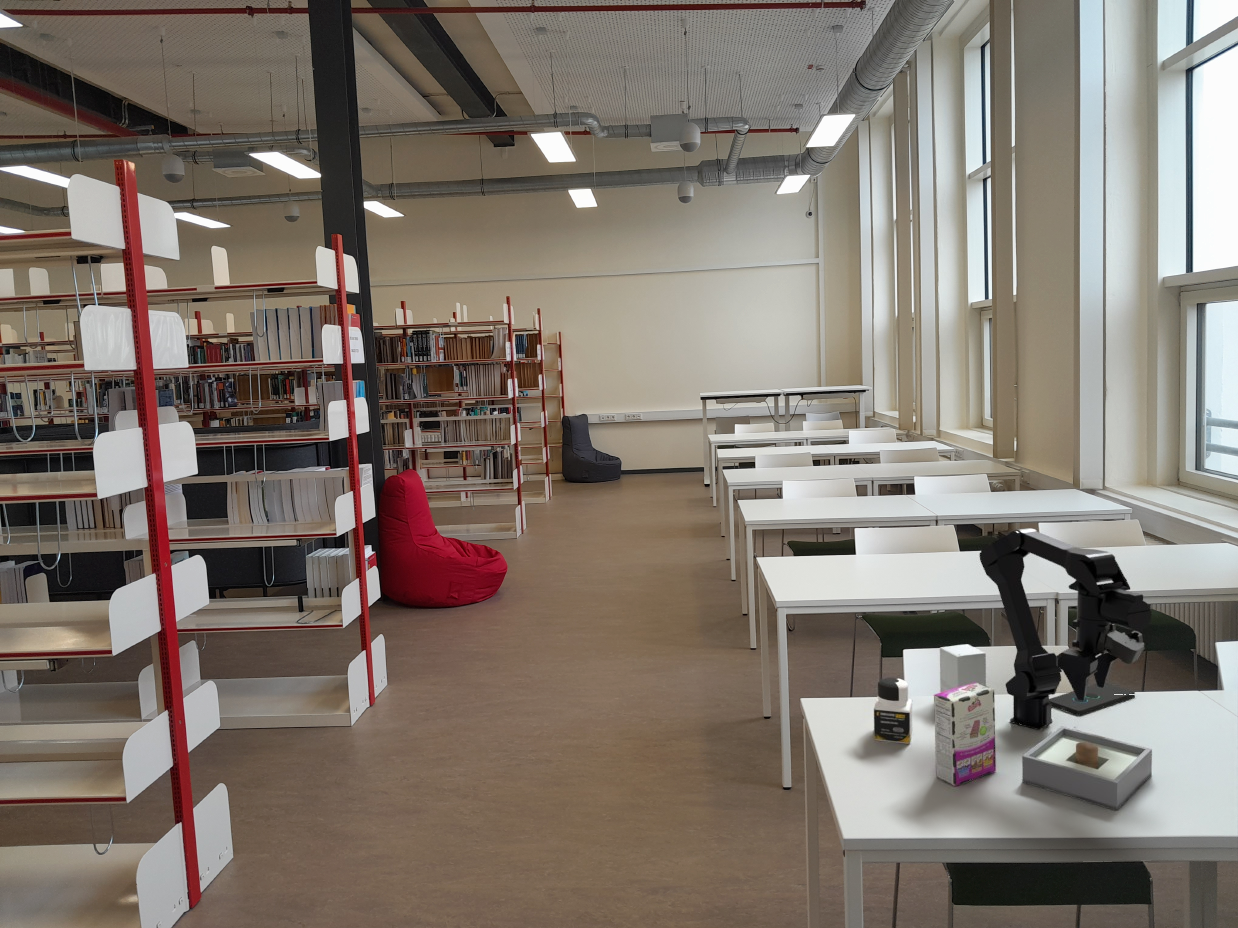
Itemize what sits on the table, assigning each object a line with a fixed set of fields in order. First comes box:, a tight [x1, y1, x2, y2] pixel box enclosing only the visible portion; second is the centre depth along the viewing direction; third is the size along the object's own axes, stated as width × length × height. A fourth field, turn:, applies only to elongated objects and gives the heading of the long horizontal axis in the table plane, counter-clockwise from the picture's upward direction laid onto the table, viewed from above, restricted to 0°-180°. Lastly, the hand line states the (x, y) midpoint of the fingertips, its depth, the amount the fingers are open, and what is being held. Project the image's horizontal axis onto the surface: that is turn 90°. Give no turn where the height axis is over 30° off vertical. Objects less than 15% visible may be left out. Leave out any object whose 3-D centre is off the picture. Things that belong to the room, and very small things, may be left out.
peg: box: [1076, 743, 1098, 769], centre depth 164 cm, size 4×4×6 cm
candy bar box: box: [933, 682, 997, 787], centre depth 167 cm, size 11×5×16 cm, turn 117°
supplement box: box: [939, 643, 987, 693], centre depth 201 cm, size 7×7×13 cm
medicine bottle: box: [873, 677, 913, 745], centre depth 186 cm, size 7×7×12 cm
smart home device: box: [1049, 682, 1136, 716], centre depth 200 cm, size 8×2×20 cm
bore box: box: [1021, 726, 1153, 811], centre depth 164 cm, size 16×18×5 cm
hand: (1091, 693), depth 174 cm, fingers open, 9 cm apart
